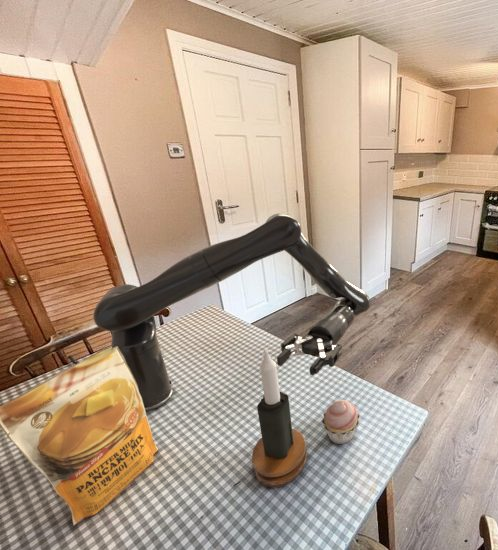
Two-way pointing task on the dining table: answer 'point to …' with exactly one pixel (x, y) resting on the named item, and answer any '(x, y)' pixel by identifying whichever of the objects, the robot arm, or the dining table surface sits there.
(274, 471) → the coaster pile
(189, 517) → the dining table surface
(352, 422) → the cupcake
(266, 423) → the candle
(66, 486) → the pancake mix bag
